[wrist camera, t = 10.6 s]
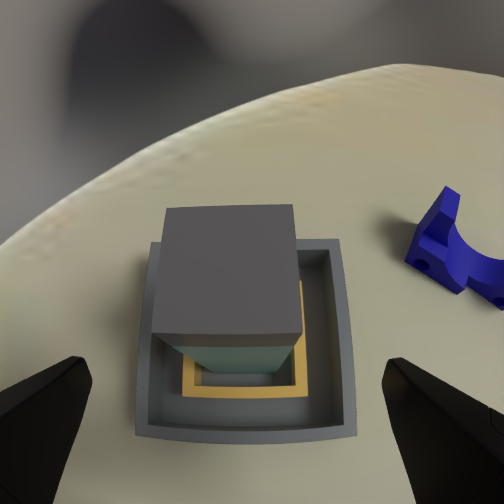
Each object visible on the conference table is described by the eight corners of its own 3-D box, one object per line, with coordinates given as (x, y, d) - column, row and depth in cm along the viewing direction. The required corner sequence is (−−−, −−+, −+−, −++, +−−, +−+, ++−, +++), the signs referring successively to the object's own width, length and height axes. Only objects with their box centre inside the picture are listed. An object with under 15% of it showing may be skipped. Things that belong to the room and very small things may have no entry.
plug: (275, 373, 19) (303, 332, 8) (215, 373, 19) (151, 332, 8) (273, 316, 21) (292, 204, 9) (216, 317, 21) (166, 208, 9)
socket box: (341, 430, 18) (357, 435, 14) (153, 430, 18) (135, 435, 15) (328, 261, 24) (338, 238, 20) (164, 263, 24) (151, 242, 21)
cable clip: (403, 262, 24) (435, 224, 18) (417, 225, 25) (445, 185, 20) (498, 324, 20) (540, 302, 15) (505, 286, 22) (542, 259, 17)
